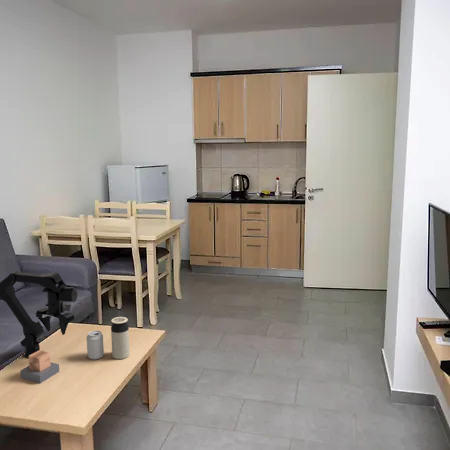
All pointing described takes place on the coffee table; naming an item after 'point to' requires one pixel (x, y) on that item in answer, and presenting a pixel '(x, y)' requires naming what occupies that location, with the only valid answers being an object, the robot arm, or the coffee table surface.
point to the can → (95, 345)
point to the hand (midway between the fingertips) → (56, 332)
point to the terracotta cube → (39, 360)
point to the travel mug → (120, 338)
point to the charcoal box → (39, 373)
